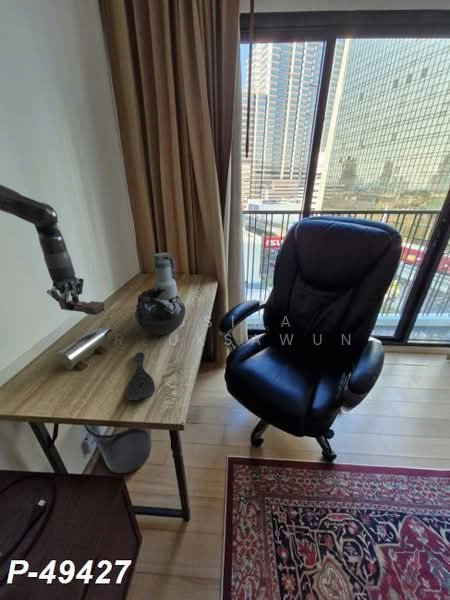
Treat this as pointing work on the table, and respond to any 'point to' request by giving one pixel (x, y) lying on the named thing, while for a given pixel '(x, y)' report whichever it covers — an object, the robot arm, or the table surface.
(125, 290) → the table surface
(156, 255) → the water bottle
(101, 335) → the steel bottle
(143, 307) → the bin with black bag
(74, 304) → the scrub brush
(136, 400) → the hairbrush
